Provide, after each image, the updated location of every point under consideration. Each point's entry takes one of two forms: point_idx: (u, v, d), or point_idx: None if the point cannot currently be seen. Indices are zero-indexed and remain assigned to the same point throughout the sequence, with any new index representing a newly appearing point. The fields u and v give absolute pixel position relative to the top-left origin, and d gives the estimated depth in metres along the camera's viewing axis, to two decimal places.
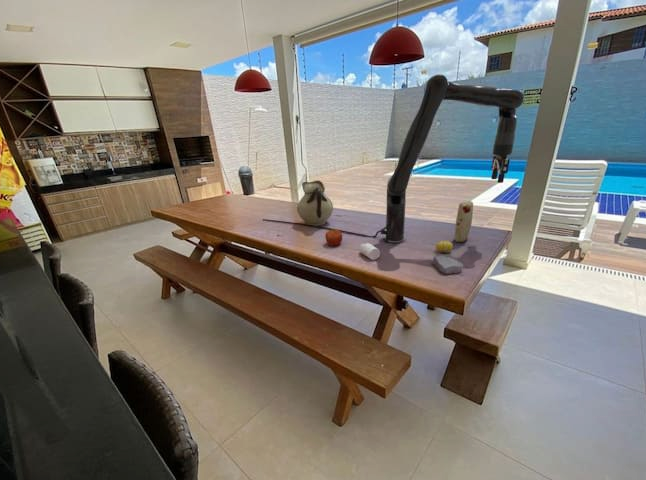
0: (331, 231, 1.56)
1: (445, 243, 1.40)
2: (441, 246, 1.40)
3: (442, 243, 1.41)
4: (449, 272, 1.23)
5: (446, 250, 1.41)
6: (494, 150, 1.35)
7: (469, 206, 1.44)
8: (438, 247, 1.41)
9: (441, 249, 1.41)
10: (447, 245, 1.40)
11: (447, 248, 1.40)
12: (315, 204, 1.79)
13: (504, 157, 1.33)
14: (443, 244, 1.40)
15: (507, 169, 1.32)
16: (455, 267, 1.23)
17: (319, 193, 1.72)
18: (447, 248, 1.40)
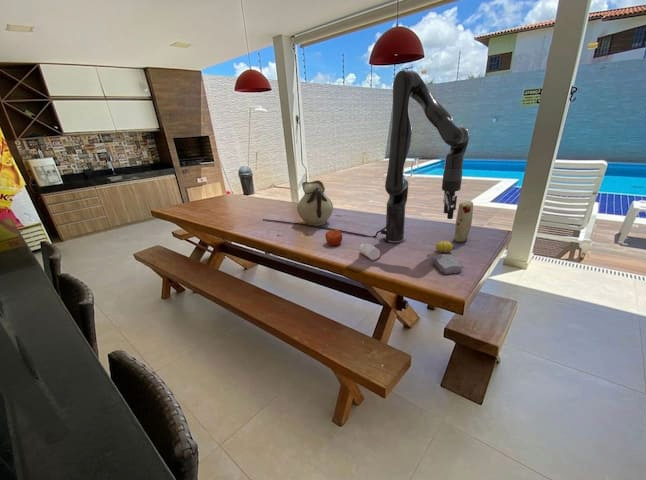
0: (331, 231, 1.56)
1: (445, 243, 1.40)
2: (441, 246, 1.40)
3: (442, 243, 1.41)
4: (449, 272, 1.23)
5: (446, 250, 1.41)
6: (442, 186, 1.30)
7: (469, 206, 1.44)
8: (438, 247, 1.41)
9: (441, 249, 1.41)
10: (447, 245, 1.40)
11: (447, 248, 1.40)
12: (315, 204, 1.79)
13: (452, 193, 1.28)
14: (443, 244, 1.40)
15: (455, 206, 1.27)
16: (455, 267, 1.23)
17: (319, 193, 1.72)
18: (447, 248, 1.40)
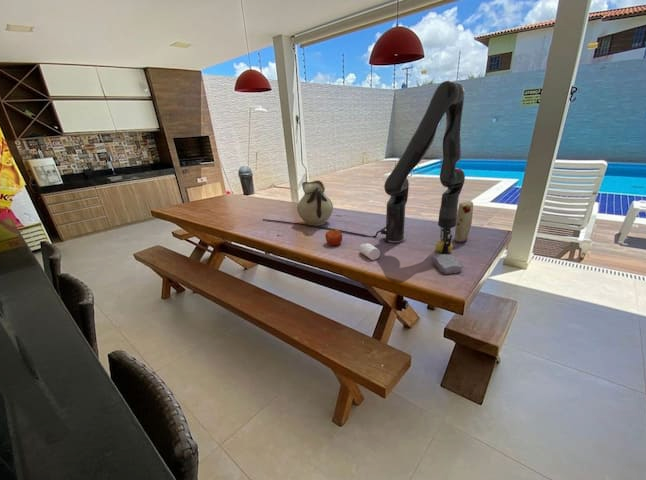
0: (331, 231, 1.56)
1: None
2: (441, 246, 1.40)
3: (442, 243, 1.41)
4: (449, 272, 1.23)
5: None
6: (439, 222, 1.37)
7: (469, 206, 1.44)
8: (438, 247, 1.41)
9: (441, 249, 1.41)
10: None
11: None
12: (315, 204, 1.79)
13: (448, 230, 1.35)
14: None
15: (449, 243, 1.35)
16: (455, 267, 1.23)
17: (319, 193, 1.72)
18: None
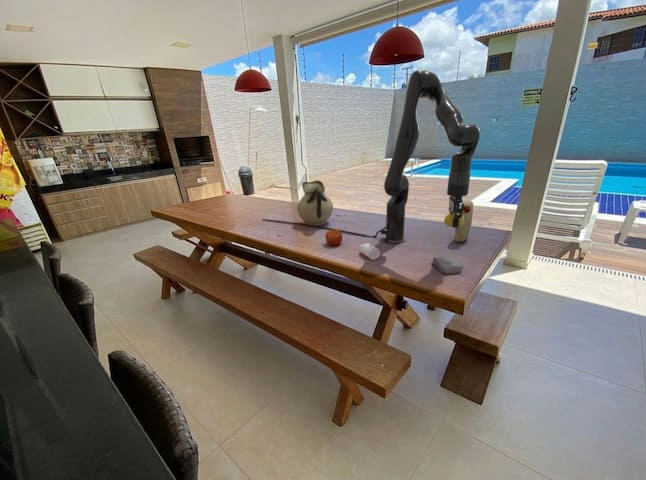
0: (331, 231, 1.56)
1: None
2: (451, 219, 1.21)
3: (452, 216, 1.21)
4: (449, 272, 1.23)
5: None
6: (448, 190, 1.18)
7: (469, 206, 1.44)
8: (447, 220, 1.22)
9: (451, 223, 1.21)
10: None
11: None
12: (315, 204, 1.79)
13: (459, 199, 1.16)
14: None
15: (461, 214, 1.16)
16: (455, 267, 1.23)
17: (319, 193, 1.72)
18: None
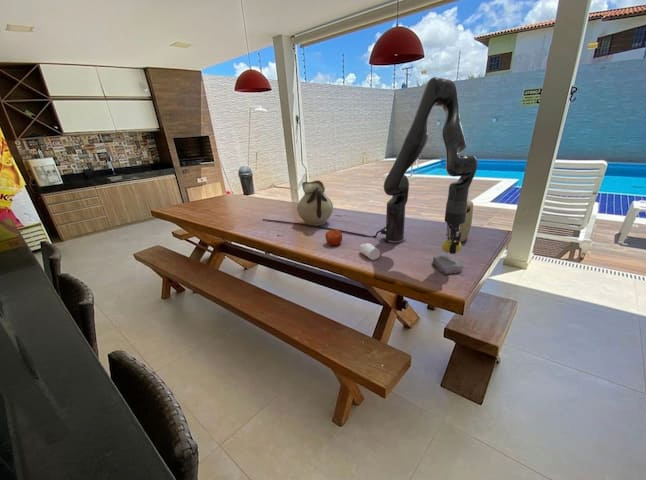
0: (331, 231, 1.56)
1: None
2: (448, 245, 1.22)
3: (449, 242, 1.23)
4: (449, 272, 1.23)
5: None
6: (445, 218, 1.19)
7: (469, 206, 1.44)
8: (445, 246, 1.23)
9: (448, 249, 1.23)
10: None
11: None
12: (315, 204, 1.79)
13: (456, 227, 1.17)
14: None
15: (458, 242, 1.18)
16: (455, 267, 1.23)
17: (319, 193, 1.72)
18: None
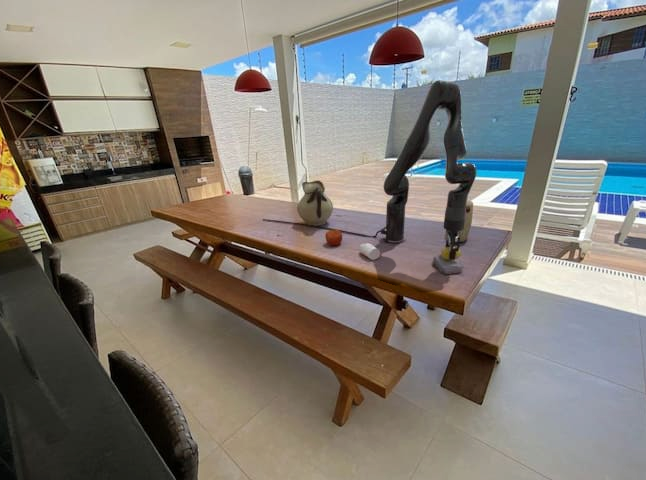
0: (331, 231, 1.56)
1: None
2: (447, 253, 1.24)
3: (448, 249, 1.24)
4: (449, 272, 1.23)
5: None
6: (444, 224, 1.20)
7: (469, 206, 1.44)
8: (444, 254, 1.25)
9: (447, 256, 1.24)
10: None
11: None
12: (315, 204, 1.79)
13: (455, 233, 1.18)
14: None
15: (458, 247, 1.17)
16: (455, 267, 1.23)
17: (319, 193, 1.72)
18: (455, 256, 1.23)
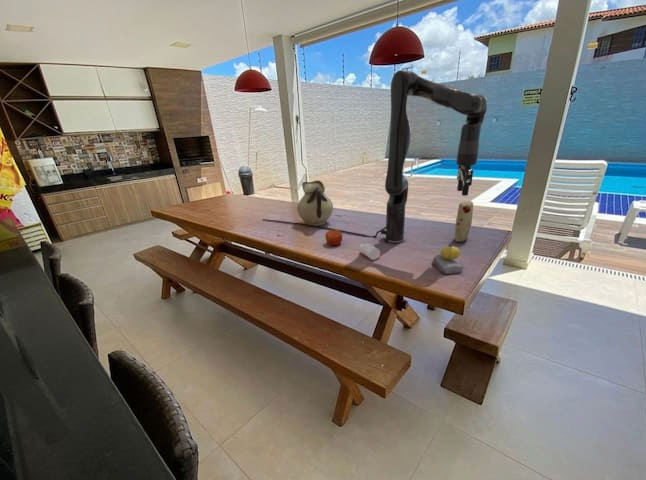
0: (331, 231, 1.56)
1: (451, 248, 1.25)
2: (447, 251, 1.24)
3: (448, 248, 1.25)
4: (449, 272, 1.23)
5: (453, 256, 1.24)
6: (457, 160, 1.22)
7: (469, 206, 1.44)
8: (444, 252, 1.25)
9: (447, 254, 1.24)
10: (454, 250, 1.24)
11: (454, 253, 1.24)
12: (315, 204, 1.79)
13: (468, 168, 1.20)
14: (450, 249, 1.24)
15: (471, 181, 1.19)
16: (455, 267, 1.23)
17: (319, 193, 1.72)
18: (454, 254, 1.24)
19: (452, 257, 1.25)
